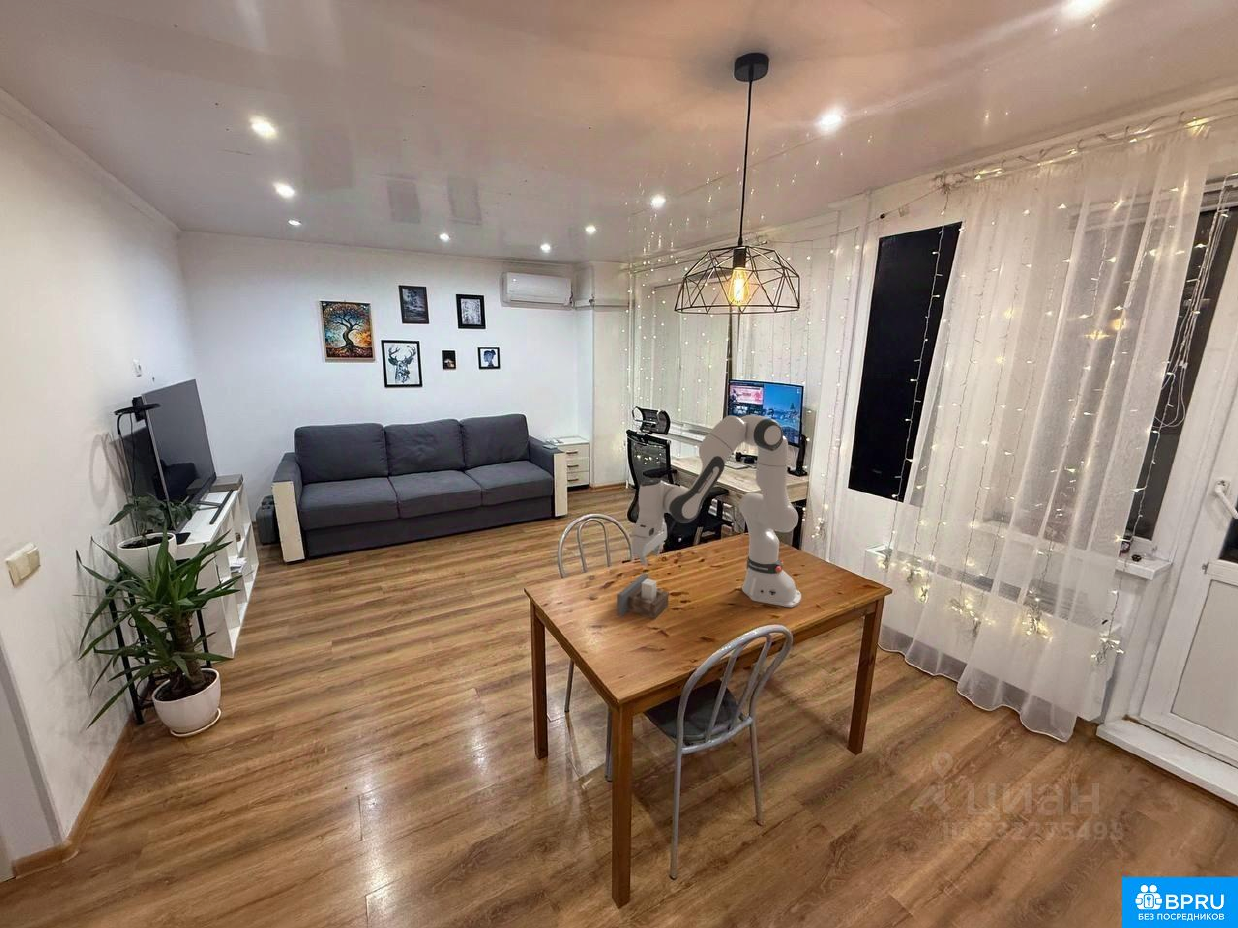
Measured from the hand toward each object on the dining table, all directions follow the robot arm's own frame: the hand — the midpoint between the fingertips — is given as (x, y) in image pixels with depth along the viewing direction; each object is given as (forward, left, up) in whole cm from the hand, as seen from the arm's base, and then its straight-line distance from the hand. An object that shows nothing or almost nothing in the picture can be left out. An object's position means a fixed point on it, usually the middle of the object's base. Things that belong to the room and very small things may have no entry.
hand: (650, 559), depth 179 cm
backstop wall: (+7, 0, -20) cm, 21 cm away
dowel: (0, 0, -19) cm, 19 cm away
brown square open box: (0, 0, -20) cm, 20 cm away
